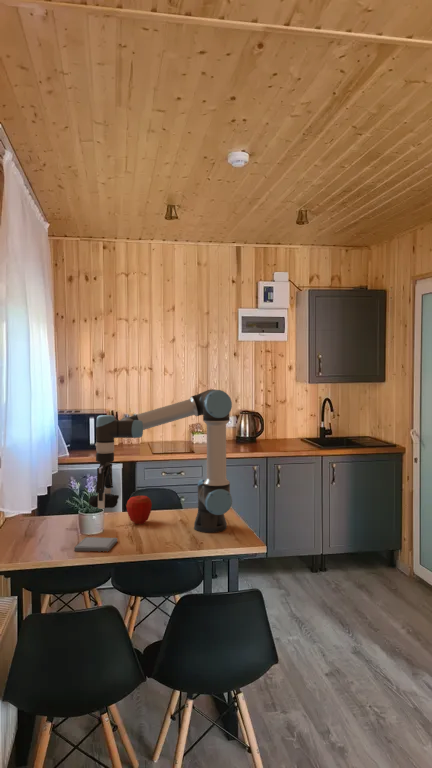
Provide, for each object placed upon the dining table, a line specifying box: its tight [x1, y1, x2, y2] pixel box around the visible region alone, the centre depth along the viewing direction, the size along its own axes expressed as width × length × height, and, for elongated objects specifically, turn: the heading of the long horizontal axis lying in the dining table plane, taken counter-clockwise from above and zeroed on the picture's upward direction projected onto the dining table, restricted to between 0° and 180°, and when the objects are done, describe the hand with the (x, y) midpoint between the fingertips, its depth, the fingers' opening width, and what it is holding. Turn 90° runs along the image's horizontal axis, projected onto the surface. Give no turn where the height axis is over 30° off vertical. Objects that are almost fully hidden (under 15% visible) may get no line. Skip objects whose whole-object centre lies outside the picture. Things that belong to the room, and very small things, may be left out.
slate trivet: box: [74, 536, 118, 553], centre depth 234 cm, size 14×14×2 cm
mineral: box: [88, 493, 120, 509], centre depth 235 cm, size 10×9×6 cm
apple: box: [125, 494, 153, 525], centre depth 269 cm, size 12×12×14 cm
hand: (104, 505), depth 236 cm, fingers closed on mineral, 8 cm apart
